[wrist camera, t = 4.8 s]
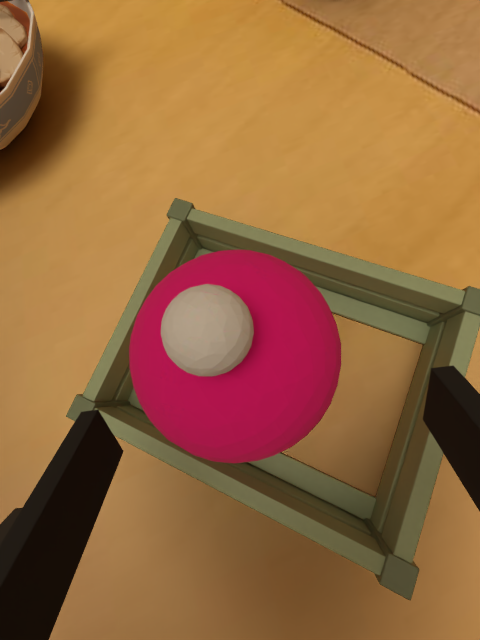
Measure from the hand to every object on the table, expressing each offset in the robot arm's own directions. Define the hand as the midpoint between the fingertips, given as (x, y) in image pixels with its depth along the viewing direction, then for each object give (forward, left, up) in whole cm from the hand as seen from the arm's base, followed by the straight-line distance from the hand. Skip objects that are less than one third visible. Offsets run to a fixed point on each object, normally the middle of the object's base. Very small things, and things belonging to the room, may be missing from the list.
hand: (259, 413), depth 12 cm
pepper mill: (-2, +1, -12) cm, 12 cm away
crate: (-2, +2, -12) cm, 12 cm away
